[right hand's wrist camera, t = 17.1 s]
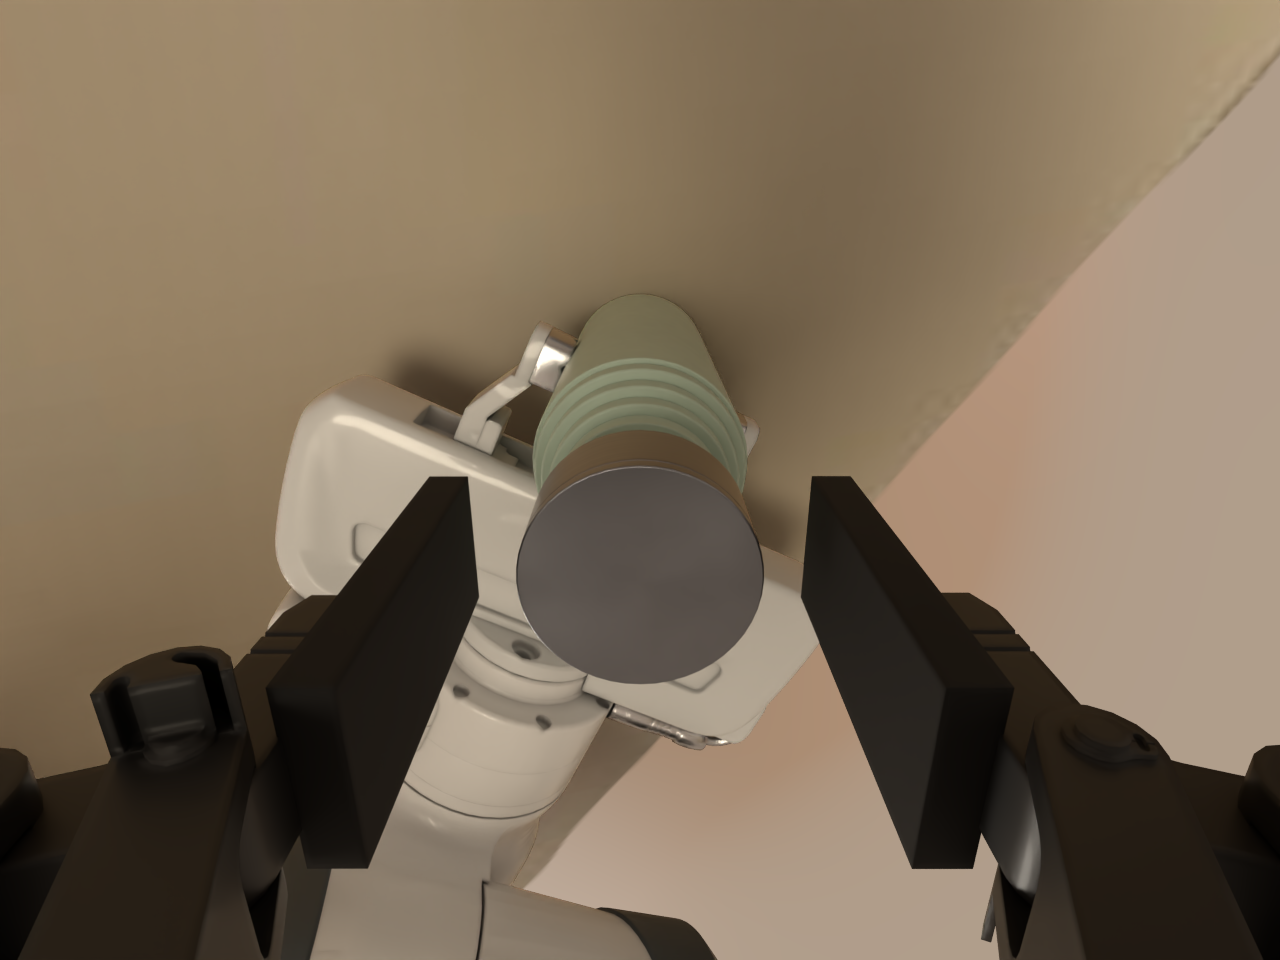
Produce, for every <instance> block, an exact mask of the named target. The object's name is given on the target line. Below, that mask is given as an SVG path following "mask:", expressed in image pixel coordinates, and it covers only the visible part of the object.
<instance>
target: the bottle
mask: <svg viewBox="0 0 1280 960" xmlns="http://www.w3.org/2000/svg"><path fill="white" fill-rule="evenodd" d="M578 339H579V340H578V342H577V344H576V347H575V349H574V351H573V353H572V356H571V358H570V359H569V361H568V363H567V365H566V366H565V368H564V370H563V373H562V375H561V377H560V379H559V381H558V383H557V386H556V388H555V390H554V392H553V394H552V396H551V399H550V401H549V403H548V405H547V407H546V409H545V411H544V414H543V416H542V418H541V421H540V423H539V426H538V428H537V431H536V436H535V440H534V446H533V471H534V477H535V482H536V487H537V492H538V494H539V492H540V490H541V488H542V486H543V484H544V482H545V480H546V479H547V477H548V476H549V474H550V473H551V472H552V470H553V469H554V468H555V467H556V466H557V465H558V464H559V462H560V461H562V460H563V459H564V458H565V457H566V456H567V455H569V454H570V453H571V452H572V451H574V450H576V449H577V448H579V447H580V446H582V445H583V444H585V443H587V442H590V441H592V440H594V439H596V438H599V437H602V436H605V435H608V434H611V433H617V432H622V431H631V430H649V431H658V432H664V433H669V434H672V435H675V436H678V437H682V438H684V439H686V440H688V441H691V442H693V443H695V444H697V445H698V446H700V447H701V448H703V449H705V450H706V451H708V452H709V453H710V454H711V455H713V456H714V457H715V458H716V459H717V460H719V461H720V462H721V464H722V465H723V466H724V467H725V468H726V469H727V470H728V471H729V473H730V474H731V476H732V477H733V479H734V480H735V482H736V483H737V485H738V488H739V490H740V492H741V494H742V492H743V488H744V483H745V477H746V472H747V459H748V457H747V444H746V440H745V435H744V431H743V428H742V426H741V423H740V420H739V418H738V416H737V413H736V411H735V409H734V407H733V405H732V403H731V400H730V398H729V396H728V394H727V392H726V390H725V387H724V385H723V383H722V381H721V379H720V377H719V374H718V372H717V370H716V368H715V366H714V364H713V362H712V359H711V357H710V355H709V353H708V351H707V349H706V346H705V344H704V342H703V340H702V338H701V336H700V333H699V331H698V329H697V328H696V326H695V324H694V323H693V321H692V320H691V318H690V317H689V316H688V315H687V314H686V313H685V312H684V311H683V310H682V309H681V308H679V307H678V306H677V305H675V304H674V303H672V302H670V301H668V300H666V299H664V298H661V297H657V296H654V295H647V294H633V295H626V296H623V297H619V298H617V299H614V300H612V301H610V302H608V303H607V304H605V305H603V306H602V307H601V308H600V309H598V310H597V311H596V312H595V313H594V314H593V315H592V316H591V317H590V319H589V320H588V321H587V323H586V324H585V326H584V328H583V330H582V332H581V334H580V336H579V338H578Z"/></svg>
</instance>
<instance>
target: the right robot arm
mask: <svg viewBox="0 0 1280 960" xmlns="http://www.w3.org/2000/svg"><path fill="white" fill-rule="evenodd" d="M478 599H479V589H478V578H477V567H476V557H475V546H474V535H473V525H472V514H471V503H470V493H469V482H468V476H429V478H428V479H427V480H426V481H425V483H424V484H423V485H422V487H421V488H420V489H419V491H418V492H417V493H416V494H415V496H414V497H413V498H412V500H411V501H410V502H409V503H408V505H407V506H406V507H405V509H404V510H403V511H402V512H401V514H400V515H399V516H398V518H397V519H396V520H395V521H394V523H393V524H392V525H391V527H390V528H389V529H388V530H387V532H386V533H385V534H384V536H383V537H382V538H381V539H380V541H379V542H378V543H377V545H376V546H375V547H374V548H373V550H372V551H371V552H370V554H369V555H368V556H367V557H366V559H365V560H364V561H363V563H362V564H361V565H360V567H359V568H358V569H357V570H356V572H355V573H354V574H353V576H352V577H351V578H350V579H349V581H348V582H347V583H346V585H345V586H344V587H343V588H342V590H341V591H340V592H339V594H338V595H311V596H309V597H307V598H306V599H304V600H303V601H301V602H299V603H298V604H296V605H294V606H293V607H291V608H290V609H288V610H286V611H285V612H283V613H282V614H281V616H280V617H279V618H278V619H277V620H276V621H275V622H274V624H273V625H272V626H271V627H270V628H269V629H268V630H267V632H266V635H265V637H261V638H260V640H259V641H258V642H257V643H256V644H255V645H254V646H253V648H252V649H251V653H250V654H246V655H245V657H244V658H243V659H242V660H241V661H240V662H239V663H238V665H237V666H236V667H235V668H234V669H233V665H232V661H231V657H230V656H229V655H227V654H226V653H225V652H223V651H222V650H220V649H218V648H212V647H206V646H191V647H179V648H174V649H170V650H166V651H162V652H158V653H154V654H150V655H148V656H146V657H143V658H141V659H139V660H136V661H134V662H132V663H129V664H127V665H125V666H123V667H122V668H120V669H119V670H117V671H115V672H114V673H112V674H111V675H109V676H108V677H106V678H105V679H103V680H102V682H101V683H100V684H99V685H98V686H97V687H96V688H95V689H94V691H93V692H92V693H91V694H90V697H91V700H92V703H93V705H94V708H95V711H96V714H97V717H98V720H99V723H100V726H101V729H102V732H103V735H104V738H105V741H106V744H107V747H108V750H109V752H110V755H111V758H110V761H109V763H108V764H105V765H101V766H97V767H92V768H87V769H83V770H78V771H73V772H69V773H64V774H59V775H55V776H50V777H45V778H41V779H36V778H35V775H34V773H33V770H32V768H31V765H30V763H29V760H28V758H27V756H25V755H23V754H22V753H20V752H19V751H17V750H16V749H7V748H0V960H281V952H282V943H283V934H284V926H285V917H286V908H287V899H288V892H287V886H286V879H285V875H284V871H283V867H282V866H283V864H284V862H285V860H286V859H287V857H288V855H289V853H290V851H291V849H292V847H293V846H294V844H295V842H296V840H297V838H298V836H300V840H301V844H302V849H303V853H304V857H305V862H306V866H307V869H368V867H369V865H370V863H371V860H372V858H373V855H374V853H375V850H376V848H377V845H378V843H379V841H380V838H381V836H382V833H383V831H384V828H385V826H386V824H387V821H388V819H389V816H390V814H391V811H392V809H393V806H394V804H395V802H396V799H397V797H398V794H399V792H400V789H401V787H402V785H403V782H404V780H405V777H406V775H407V772H408V770H409V767H410V765H411V763H412V760H413V758H414V755H415V753H416V750H417V748H418V745H419V743H420V741H421V738H422V736H423V733H424V731H425V728H426V726H427V724H428V721H429V719H430V716H431V714H432V711H433V709H434V706H435V704H436V702H437V699H438V697H439V694H440V692H441V689H442V687H443V685H444V682H445V680H446V677H447V675H448V672H449V670H450V667H451V665H452V663H453V660H454V658H455V655H456V653H457V650H458V648H459V645H460V643H461V641H462V638H463V636H464V633H465V631H466V628H467V626H468V624H469V621H470V619H471V616H472V614H473V611H474V609H475V606H476V604H477V602H478ZM801 599H802V602H803V604H804V606H805V609H806V611H807V614H808V616H809V619H810V621H811V624H812V626H813V628H814V631H815V633H816V636H817V638H818V641H819V643H820V645H821V648H822V650H823V653H824V655H825V658H826V660H827V662H828V665H829V667H830V670H831V672H832V675H833V677H834V680H835V682H836V684H837V687H838V689H839V692H840V694H841V697H842V699H843V702H844V704H845V706H846V709H847V711H848V714H849V716H850V719H851V721H852V723H853V726H854V728H855V731H856V733H857V736H858V738H859V741H860V743H861V745H862V748H863V750H864V753H865V755H866V758H867V760H868V762H869V765H870V767H871V770H872V772H873V775H874V777H875V780H876V782H877V784H878V787H879V789H880V792H881V794H882V797H883V799H884V802H885V804H886V806H887V809H888V811H889V814H890V816H891V819H892V821H893V824H894V826H895V828H896V831H897V833H898V836H899V838H900V841H901V843H902V845H903V848H904V850H905V853H906V855H907V858H908V860H909V863H910V865H911V867H912V869H973V866H974V862H975V857H976V853H977V849H978V844H979V840H980V836H981V833H982V835H983V836H984V838H985V840H986V842H987V844H988V846H989V848H990V849H991V851H992V853H993V855H994V857H995V859H996V860H997V862H998V867H997V871H996V875H995V879H994V883H993V887H992V892H991V895H990V900H989V903H988V908H987V912H986V916H985V920H984V924H983V930H982V936H981V939H982V940H985V941H988V942H991V941H992V937H993V933H994V929H995V926H996V932H997V941H998V950H999V959H1000V960H1280V745H1272V746H1265V747H1264V748H1262V749H1261V750H1259V751H1257V752H1256V753H1254V755H1253V758H1252V760H1251V763H1250V765H1249V768H1248V771H1247V773H1246V776H1241V775H1235V774H1231V773H1226V772H1222V771H1217V770H1212V769H1207V768H1203V767H1198V766H1193V765H1189V764H1184V763H1180V762H1176V761H1172V760H1171V759H1170V757H1169V755H1168V754H1167V753H1166V751H1165V750H1164V749H1163V747H1162V746H1161V745H1160V743H1159V742H1158V741H1157V740H1156V739H1155V738H1154V737H1152V736H1151V735H1150V734H1148V733H1147V732H1146V731H1144V730H1143V729H1142V728H1141V727H1139V726H1138V725H1136V724H1134V723H1132V722H1130V721H1128V720H1126V719H1124V718H1122V717H1120V716H1118V715H1116V714H1114V713H1112V712H1108V711H1105V710H1102V709H1098V708H1095V707H1091V706H1088V705H1081V704H1080V703H1079V702H1078V701H1077V700H1076V699H1075V698H1074V696H1073V695H1072V694H1071V693H1070V692H1069V691H1068V690H1067V689H1066V687H1065V686H1064V685H1063V684H1062V683H1061V682H1060V681H1059V679H1058V678H1057V677H1056V676H1055V675H1054V674H1053V673H1052V672H1051V670H1050V669H1049V668H1048V667H1047V666H1046V665H1045V664H1044V662H1043V661H1042V660H1041V659H1040V658H1039V657H1038V656H1037V655H1036V653H1035V652H1034V651H1030V647H1029V646H1028V644H1027V643H1026V642H1025V641H1024V640H1023V639H1022V638H1021V636H1020V635H1019V634H1015V630H1014V628H1013V627H1012V626H1011V625H1010V624H1009V623H1008V622H1007V621H1006V619H1005V618H1004V617H1003V616H1002V615H1001V614H1000V613H999V611H998V610H996V609H995V608H993V607H991V606H990V605H988V604H986V603H985V602H983V601H982V600H980V599H978V598H977V597H975V596H973V595H972V594H970V593H941V592H940V591H939V590H938V588H937V587H936V586H935V585H934V583H933V582H932V581H931V579H930V578H929V577H928V576H927V574H926V573H925V572H924V570H923V569H922V568H921V567H920V565H919V564H918V563H917V561H916V560H915V559H914V557H913V556H912V555H911V554H910V552H909V551H908V550H907V548H906V547H905V546H904V545H903V543H902V542H901V541H900V539H899V538H898V537H897V536H896V534H895V533H894V532H893V530H892V529H891V528H890V527H889V525H888V524H887V523H886V521H885V520H884V519H883V518H882V516H881V515H880V514H879V512H878V511H877V510H876V509H875V507H874V506H873V505H872V503H871V502H870V501H869V500H868V498H867V497H866V496H865V494H864V493H863V492H862V491H861V489H860V488H859V487H858V485H857V484H856V483H855V482H854V480H853V479H852V478H851V476H812V482H811V493H810V503H809V514H808V525H807V535H806V546H805V557H804V567H803V578H802V589H801Z"/></svg>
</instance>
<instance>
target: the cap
mask: <svg viewBox="0 0 1280 960" xmlns="http://www.w3.org/2000/svg"><path fill="white" fill-rule="evenodd" d="M516 585H517V591H518V597H519V600H520V603H521V607H522V610H523V612H524V614H525V616H526V618H527V620H528V623H529V624H530V626H531V627H532V629H533V630H534V632H535V634H536V635H537V636H538V637H539V639H540V640H541V641H542V642H543V643H544V644H545V646H546V647H547V648H548V649H550V650H551V651H552V652H553V653H554V654H555V655H556V656H557V657H559V658H560V659H562V660H563V661H565V662H566V663H567V664H569V665H571V666H572V667H574V668H576V669H578V670H580V671H582V672H584V673H587V674H589V675H592V676H594V677H597V678H601V679H604V680H608V681H612V682H618V683H625V684H656V683H662V682H668V681H673V680H676V679H679V678H683V677H686V676H689V675H691V674H693V673H696V672H698V671H700V670H702V669H704V668H706V667H708V666H709V665H711V664H713V663H714V662H716V661H717V660H718V659H720V658H721V657H723V656H724V655H725V654H726V653H727V652H728V651H729V650H730V649H732V648H733V647H734V646H735V645H736V643H737V642H738V641H739V640H740V639H741V637H742V636H743V635H744V634H745V632H746V631H747V629H748V627H749V626H750V624H751V623H752V621H753V619H754V616H755V614H756V612H757V610H758V607H759V604H760V600H761V597H762V592H763V585H764V564H763V557H762V551H761V548H760V545H759V542H758V539H757V536H756V533H755V530H754V527H753V525H752V522H751V519H750V516H749V513H748V510H747V508H746V505H745V502H744V499H743V496H742V494H741V492H740V490H739V488H738V485H737V483H736V482H735V480H734V479H733V477H732V476H731V474H730V473H729V471H728V470H727V469H726V468H725V467H724V466H723V465H722V464H721V462H720V461H719V460H717V459H716V458H715V457H714V456H713V455H711V454H710V453H709V452H708V451H706V450H705V449H703V448H701V447H700V446H698V445H697V444H695V443H693V442H691V441H688V440H686V439H684V438H682V437H678V436H675V435H672V434H669V433H664V432H658V431H649V430H631V431H622V432H617V433H611V434H608V435H605V436H602V437H599V438H596V439H594V440H592V441H590V442H587V443H585V444H583V445H582V446H580V447H579V448H577V449H576V450H574V451H572V452H571V453H570V454H569V455H567V456H566V457H565V458H564V459H563V460H562V461H560V462H559V464H558V465H557V466H556V467H555V468H554V469H553V470H552V472H551V473H550V474H549V476H548V477H547V479H546V480H545V482H544V484H543V486H542V488H541V490H540V492H539V494H538V496H537V499H536V502H535V505H534V508H533V510H532V513H531V516H530V519H529V522H528V525H527V527H526V530H525V533H524V536H523V539H522V542H521V545H520V549H519V552H518V558H517V565H516Z"/></svg>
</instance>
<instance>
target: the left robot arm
mask: <svg viewBox="0 0 1280 960" xmlns="http://www.w3.org/2000/svg"><path fill="white" fill-rule="evenodd" d="M578 340H579V339H578V338H576V337H574V336H572V335H570V334H567V333H565V332H563V331H561V330H559V329H557V328H555V327H553V326H551V325H549V324H547V323H544V322H542V321H540V322H539V323H538V324H537V326H536V327H535V329H534V331H533V333H532V335H531V337H530V340H529V342H528V345H527V347H526V349H525V352H524V354H523V357H522V359H521V362H520V364H518V365H517V366H515V367H514V368H513V369H511V370H510V371H509V372H507V373H506V374H504V375H503V376H502V377H500V378H499V379H497V380H496V381H495V382H493V383H492V384H491V385H489V386H488V387H486V388H485V389H484V390H482V391H481V392H479V393H478V394H477V395H476V397H475V398H474V399H473V400H472V401H471V402H470V404H469V405H468V406H467V407H466V408H465V411H464V413H463V415H461V414H458V413H456V412H454V411H451V410H449V409H447V408H445V407H442V406H440V405H438V404H435V403H433V402H431V401H428V400H426V399H424V398H422V397H419V396H417V395H415V394H412V393H410V392H408V391H405V390H403V389H401V388H399V387H396V386H394V385H392V384H389V383H387V382H385V381H383V380H380V379H378V378H376V377H373V376H370V375H359V376H356V377H353V378H351V379H348V380H346V381H343V382H341V383H339V384H337V385H335V386H333V387H330V388H329V389H327V390H325V391H324V392H322V393H321V394H319V395H318V396H316V397H315V398H314V399H313V400H312V401H311V402H310V403H309V404H308V405H307V407H306V408H305V409H304V411H303V412H302V414H301V416H300V418H299V421H298V424H297V427H296V430H295V434H294V437H293V441H292V444H291V448H290V452H289V456H288V460H287V464H286V469H285V474H284V479H283V484H282V489H281V495H280V501H279V508H278V516H277V524H276V533H275V548H276V556H277V561H278V564H279V567H280V570H281V572H282V574H283V576H284V578H285V579H286V581H287V582H288V584H289V585H290V586H291V588H290V590H289V591H288V592H287V594H286V595H285V597H284V598H283V600H282V601H281V603H280V605H279V606H278V608H277V609H276V611H275V613H274V615H273V617H272V618H271V620H270V623H269V625H268V628H267V630H268V629H269V628H270V627H271V626H272V625H273V624H274V622H275V621H276V620H277V619H278V618H279V617H280V616H281V614H282V613H283V612H285V611H286V610H288V609H290V608H291V607H293V606H294V605H296V604H298V603H299V602H301V601H303V600H304V599H306V598H307V597H309V596H311V595H338V594H339V592H340V591H341V590H342V588H343V587H344V586H345V585H346V583H347V582H348V581H349V579H350V578H351V577H352V576H353V574H354V573H355V572H356V570H357V569H358V568H359V567H360V565H361V564H362V563H363V561H364V560H365V559H366V557H367V556H368V555H369V554H370V552H371V551H372V550H373V548H374V547H375V546H376V545H377V543H378V542H379V541H380V539H381V538H382V537H383V536H384V534H385V533H386V532H387V530H388V529H389V528H390V527H391V525H392V524H393V523H394V521H395V520H396V519H397V518H398V516H399V515H400V514H401V512H402V511H403V510H404V509H405V507H406V506H407V505H408V503H409V502H410V501H411V500H412V498H413V497H414V496H415V494H416V493H417V492H418V491H419V489H420V488H421V487H422V485H423V484H424V483H425V481H426V480H427V479H428V478H429V476H468V482H469V493H470V503H471V514H472V525H473V535H474V546H475V557H476V567H477V578H478V589H479V599H478V602H477V604H476V606H475V609H474V611H473V614H472V616H471V619H470V621H469V624H468V626H467V628H466V631H465V633H464V636H463V638H462V641H461V643H460V645H459V648H458V650H457V653H456V655H455V658H454V660H453V663H452V665H451V667H450V670H449V672H448V675H447V677H446V680H445V682H444V685H443V687H442V689H441V692H440V694H439V697H438V699H437V702H436V704H435V706H434V709H433V711H432V714H431V716H430V719H429V721H428V724H427V726H426V728H425V731H424V733H423V736H422V738H421V741H420V743H419V745H418V748H417V750H416V753H415V755H414V758H413V760H412V763H411V765H410V767H409V770H408V772H407V775H406V777H405V780H404V782H403V785H402V787H401V789H400V792H399V794H398V797H397V799H396V802H395V804H394V806H393V809H392V811H391V814H390V816H389V819H388V821H387V824H386V826H385V828H384V831H383V833H382V836H381V838H380V841H379V843H378V845H377V848H376V850H375V853H374V855H373V858H372V860H371V863H370V865H369V867H368V869H307V866H306V862H305V857H304V853H303V849H302V844H301V840H300V836H298V838H297V840H296V842H295V844H294V846H293V847H292V849H291V851H290V853H289V855H288V857H287V859H286V860H285V862H284V864H283V866H282V867H283V871H284V875H285V879H286V886H287V892H288V899H287V908H286V917H285V926H284V934H283V943H282V952H281V960H717V958H716V957H715V955H714V954H713V953H712V951H711V950H710V948H709V947H708V945H707V944H706V942H705V941H704V939H703V938H702V937H701V935H700V934H699V933H698V932H697V931H696V930H695V929H694V928H693V927H692V926H691V925H690V924H688V923H687V922H685V921H683V920H680V919H676V918H670V917H664V916H657V915H651V914H645V913H638V912H632V911H625V910H619V909H612V908H602V907H601V908H597V909H594V908H591V907H587V906H583V905H579V904H576V903H572V902H568V901H564V900H561V899H557V898H553V897H550V896H546V895H542V894H538V893H535V892H531V891H527V890H523V889H520V888H516V887H512V886H511V885H512V883H513V882H514V880H515V878H516V877H517V875H518V873H519V872H520V870H521V868H522V867H523V865H524V863H525V861H526V859H527V858H528V856H529V854H530V851H531V849H532V847H533V844H534V842H535V839H536V835H537V831H538V825H539V819H540V816H542V815H543V814H544V813H545V812H546V811H547V810H548V809H549V808H550V807H552V806H553V805H554V804H555V803H556V801H557V800H558V799H559V798H560V796H561V795H562V794H563V792H564V791H565V789H566V788H567V786H568V784H569V782H570V781H571V779H572V777H573V775H574V773H575V772H576V770H577V768H578V766H579V764H580V763H581V761H582V759H583V757H584V755H585V754H586V752H587V750H588V748H589V746H590V745H591V743H592V741H593V739H594V737H595V736H596V734H597V732H598V730H599V729H600V727H601V725H602V723H603V721H604V720H605V718H609V719H611V720H614V721H617V722H619V723H622V724H625V725H627V726H630V727H633V728H635V729H638V730H642V731H646V732H650V733H654V734H658V735H660V736H664V737H666V738H668V739H671V740H672V741H673V742H674V743H676V744H678V745H680V746H683V747H686V748H689V749H694V750H702V749H704V748H705V746H706V745H711V746H721V745H727V744H731V743H733V744H735V743H740V742H741V741H743V740H744V739H745V738H746V737H747V736H748V735H749V734H750V733H751V731H752V730H753V728H754V727H755V725H756V723H757V722H758V721H759V719H760V718H761V716H762V714H763V713H764V711H765V709H766V706H767V705H768V704H769V703H770V702H771V701H772V700H773V699H774V698H775V696H776V695H777V694H778V693H779V692H780V691H781V690H782V689H783V688H784V687H785V685H786V684H787V683H788V682H789V681H790V680H791V678H792V677H793V676H794V675H795V674H796V673H797V671H798V670H799V669H800V668H801V667H802V665H803V664H804V663H805V662H806V660H807V659H808V658H809V656H810V655H811V654H812V652H813V651H814V650H815V649H816V647H817V646H818V644H819V641H818V638H817V636H816V633H815V631H814V628H813V626H812V624H811V621H810V619H809V616H808V614H807V611H806V609H805V606H804V604H803V602H802V599H801V589H802V578H803V567H804V564H803V563H801V562H799V561H797V560H794V559H792V558H790V557H787V556H785V555H783V554H780V553H778V552H776V551H774V550H771V549H769V548H767V547H764V546H762V545H760V544H759V545H760V548H761V551H762V557H763V564H764V585H763V592H762V597H761V600H760V604H759V607H758V610H757V612H756V614H755V616H754V619H753V621H752V623H751V624H750V626H749V627H748V629H747V631H746V632H745V634H744V635H743V636H742V637H741V639H740V640H739V641H738V642H737V643H736V645H735V646H734V647H733V648H732V649H730V650H729V651H728V652H727V653H726V654H725V655H724V656H723V657H721V658H720V659H718V660H717V661H716V662H714V663H713V664H711V665H709V666H708V667H706V668H704V669H702V670H700V671H698V672H696V673H693V674H691V675H689V676H686V677H683V678H679V679H676V680H673V681H668V682H662V683H656V684H625V683H618V682H612V681H608V680H604V679H601V678H597V677H594V676H592V675H589V674H587V673H584V672H582V671H580V670H578V669H576V668H574V667H572V666H571V665H569V664H567V663H566V662H565V661H563V660H562V659H560V658H559V657H557V656H556V655H555V654H554V653H553V652H552V651H551V650H550V649H548V648H547V647H546V646H545V644H544V643H543V642H542V641H541V640H540V639H539V637H538V636H537V635H536V634H535V632H534V630H533V629H532V627H531V626H530V624H529V623H528V620H527V618H526V616H525V614H524V612H523V610H522V607H521V603H520V600H519V597H518V591H517V585H516V565H517V558H518V552H519V549H520V545H521V542H522V539H523V536H524V533H525V530H526V527H527V525H528V522H529V519H530V516H531V513H532V510H533V508H534V505H535V502H536V499H537V496H538V492H537V487H536V482H535V477H534V471H533V446H532V445H530V444H527V443H525V442H523V441H521V440H518V439H516V438H514V437H511V436H509V435H507V434H504V431H505V428H506V426H507V423H508V421H509V418H510V416H511V413H512V411H511V408H509V407H507V406H505V404H507V403H508V402H509V401H511V400H512V399H513V398H515V397H516V396H517V395H519V394H520V393H522V392H523V391H524V390H526V389H527V388H528V387H530V386H531V385H532V384H534V385H536V386H539V387H541V388H543V389H546V390H548V391H550V392H554V390H555V388H556V386H557V383H558V381H559V379H560V377H561V375H562V373H563V370H564V368H565V366H566V365H567V363H568V361H569V359H570V358H571V356H572V353H573V351H574V349H575V347H576V344H577V342H578ZM736 413H737V416H738V418H739V420H740V423H741V426H742V428H743V431H744V435H745V440H746V444H747V457H748V456H749V454H750V452H751V450H752V448H753V447H754V445H755V443H756V441H757V439H758V435H759V432H760V428H759V426H758V425H757V423H756V421H755V420H753V419H751V418H749V417H747V416H745V415H743V414H740V413H738V412H736Z"/></svg>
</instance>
